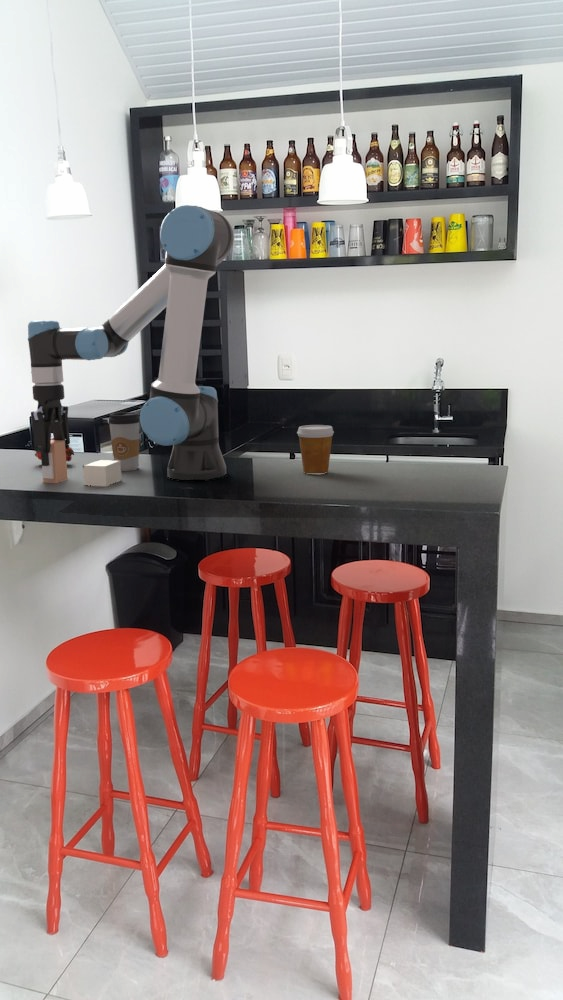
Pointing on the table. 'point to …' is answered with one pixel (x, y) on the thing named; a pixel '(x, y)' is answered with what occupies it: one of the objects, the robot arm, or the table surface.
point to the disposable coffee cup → (315, 447)
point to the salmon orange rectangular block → (58, 461)
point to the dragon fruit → (68, 453)
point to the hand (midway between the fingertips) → (55, 475)
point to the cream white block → (102, 472)
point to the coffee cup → (125, 439)
